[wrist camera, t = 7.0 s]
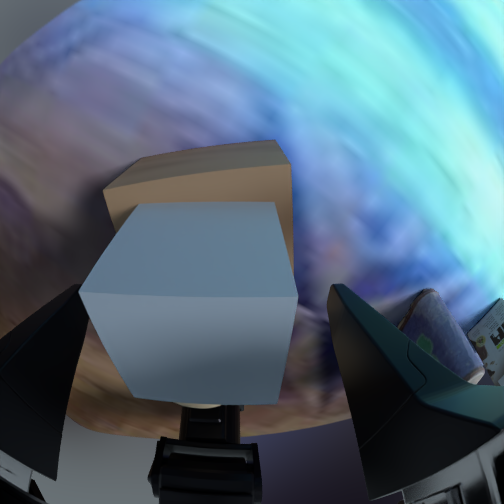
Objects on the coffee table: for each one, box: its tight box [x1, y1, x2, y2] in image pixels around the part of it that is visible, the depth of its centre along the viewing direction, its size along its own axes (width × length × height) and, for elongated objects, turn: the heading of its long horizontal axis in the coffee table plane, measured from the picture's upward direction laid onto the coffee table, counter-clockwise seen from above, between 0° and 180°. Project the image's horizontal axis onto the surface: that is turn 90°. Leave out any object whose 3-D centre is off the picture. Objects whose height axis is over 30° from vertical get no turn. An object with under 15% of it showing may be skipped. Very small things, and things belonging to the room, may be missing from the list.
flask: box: [397, 289, 485, 384], centre depth 17 cm, size 9×3×11 cm, turn 170°
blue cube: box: [78, 202, 298, 405], centre depth 9 cm, size 5×5×5 cm
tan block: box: [103, 140, 294, 277], centre depth 13 cm, size 7×7×5 cm
